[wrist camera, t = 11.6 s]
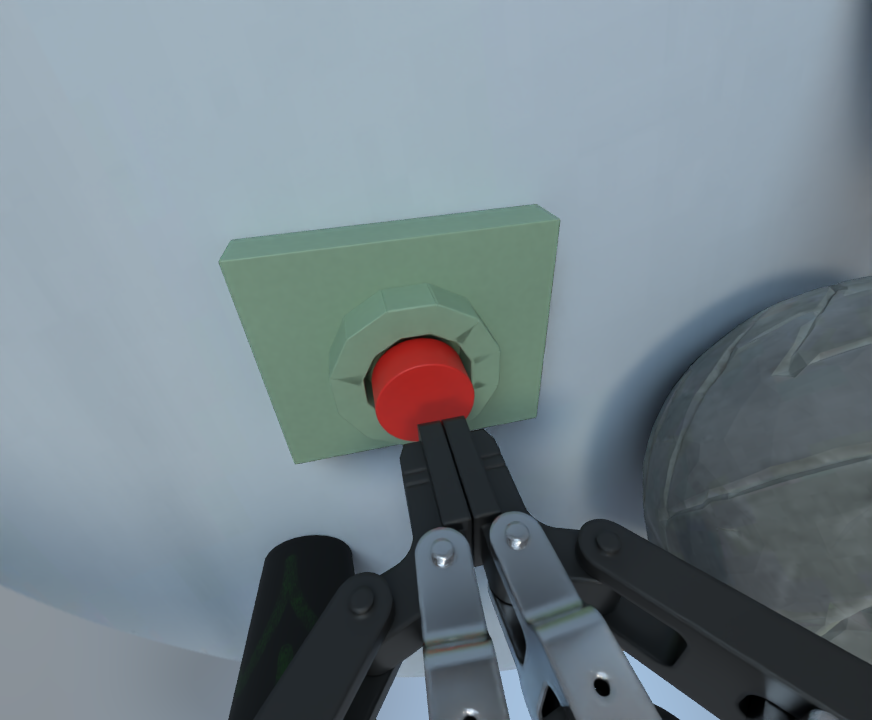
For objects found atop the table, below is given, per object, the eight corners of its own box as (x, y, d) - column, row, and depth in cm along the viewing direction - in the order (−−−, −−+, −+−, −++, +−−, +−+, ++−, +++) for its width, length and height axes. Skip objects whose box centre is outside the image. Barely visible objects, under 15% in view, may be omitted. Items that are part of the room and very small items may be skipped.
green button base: (297, 432, 21) (292, 496, 18) (230, 239, 15) (204, 284, 12) (520, 391, 23) (552, 443, 19) (536, 203, 17) (585, 234, 14)
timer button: (378, 418, 17) (382, 450, 15) (364, 345, 15) (368, 374, 13) (463, 403, 17) (475, 432, 16) (461, 330, 15) (475, 356, 14)
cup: (224, 582, 27) (167, 868, 17) (282, 513, 24) (253, 804, 15) (329, 598, 31) (330, 840, 21) (389, 540, 28) (421, 785, 18)
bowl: (804, 108, 17) (1955, 198, 5) (938, 313, 27) (1439, 511, 15) (501, 448, 25) (661, 794, 13) (688, 510, 35) (879, 743, 23)
